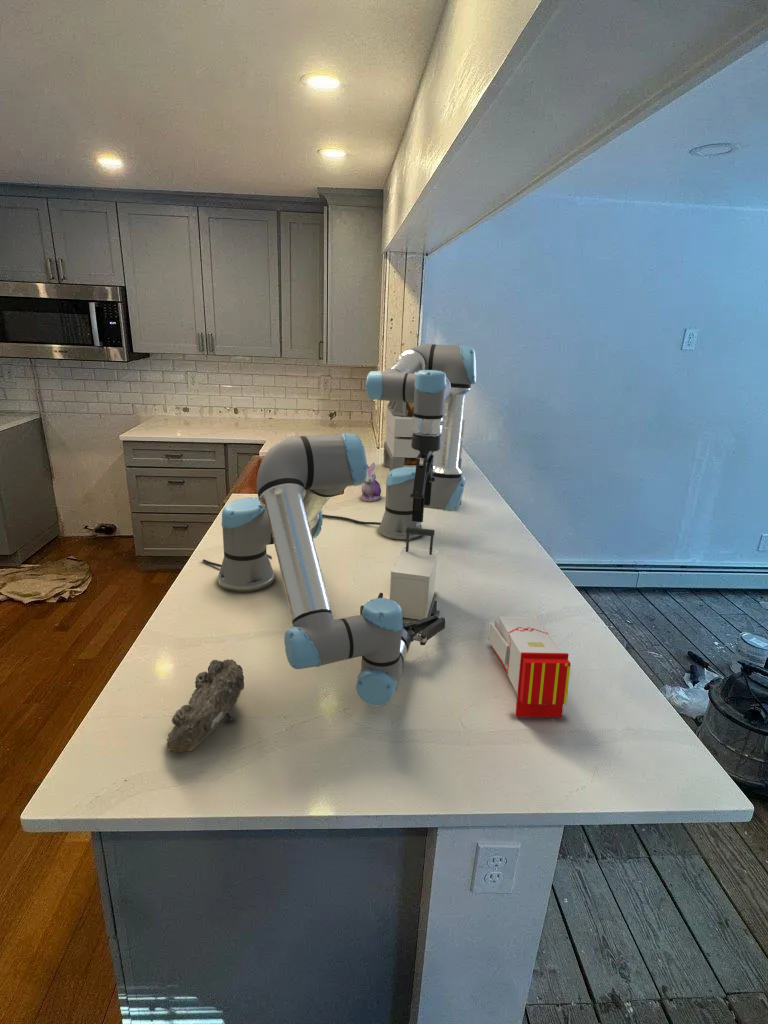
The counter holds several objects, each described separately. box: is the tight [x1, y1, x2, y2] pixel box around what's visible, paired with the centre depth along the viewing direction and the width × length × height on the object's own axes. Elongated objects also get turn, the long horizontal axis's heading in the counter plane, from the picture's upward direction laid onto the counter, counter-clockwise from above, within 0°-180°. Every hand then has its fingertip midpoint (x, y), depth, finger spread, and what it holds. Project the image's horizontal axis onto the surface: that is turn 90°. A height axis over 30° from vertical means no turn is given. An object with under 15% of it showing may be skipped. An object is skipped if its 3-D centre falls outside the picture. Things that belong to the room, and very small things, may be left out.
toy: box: [487, 616, 572, 718], centre depth 123 cm, size 12×13×30 cm
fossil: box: [166, 658, 245, 754], centre depth 106 cm, size 22×10×15 cm
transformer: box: [383, 401, 465, 472], centre depth 268 cm, size 34×33×41 cm
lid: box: [390, 527, 439, 581], centre depth 148 cm, size 16×10×8 cm, turn 168°
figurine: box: [360, 462, 382, 502], centre depth 233 cm, size 9×10×15 cm
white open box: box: [389, 558, 438, 621], centre depth 151 cm, size 16×10×11 cm, turn 168°
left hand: (408, 601), depth 140 cm, fingers open, 13 cm apart
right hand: (421, 512), depth 150 cm, fingers open, 13 cm apart
